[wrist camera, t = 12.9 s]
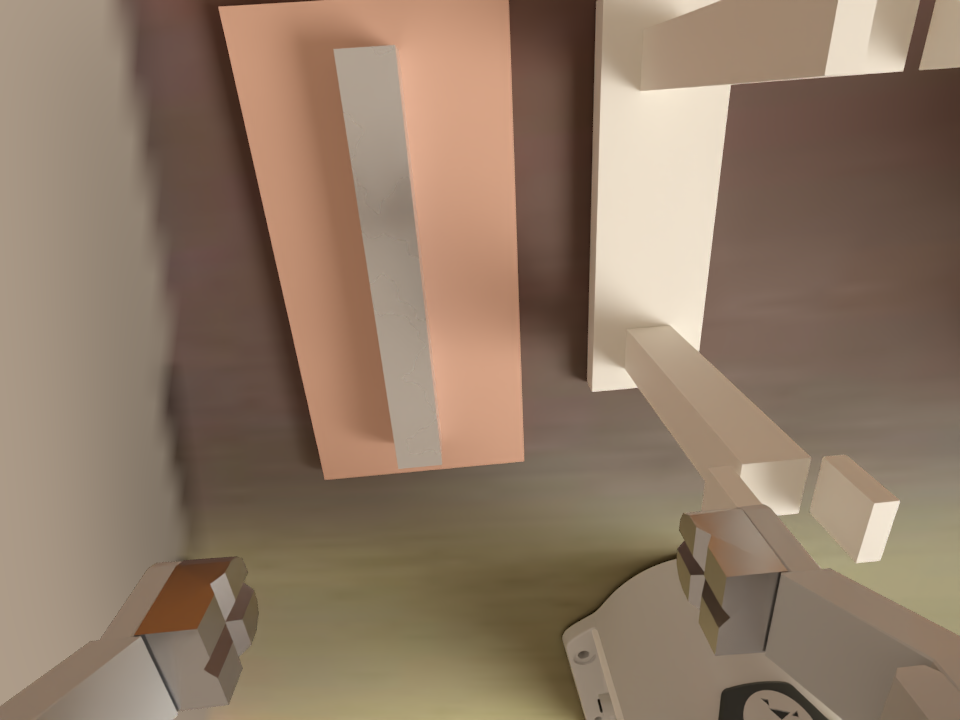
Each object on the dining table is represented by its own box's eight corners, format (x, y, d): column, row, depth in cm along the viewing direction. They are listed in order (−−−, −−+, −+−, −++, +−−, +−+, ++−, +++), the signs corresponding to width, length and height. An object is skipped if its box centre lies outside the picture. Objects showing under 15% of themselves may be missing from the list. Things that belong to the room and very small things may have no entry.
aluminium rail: (442, 440, 32) (442, 464, 30) (400, 444, 32) (398, 468, 30) (398, 50, 23) (394, 44, 21) (343, 54, 23) (333, 49, 21)
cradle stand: (686, 373, 32) (888, 588, 18) (587, 382, 32) (709, 607, 18) (728, -7, 24) (1156, -174, 10) (596, 1, 24) (835, -158, 10)
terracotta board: (521, 451, 34) (524, 461, 33) (327, 469, 33) (325, 479, 33) (505, -7, 24) (508, -11, 23) (226, 10, 23) (218, 6, 22)
